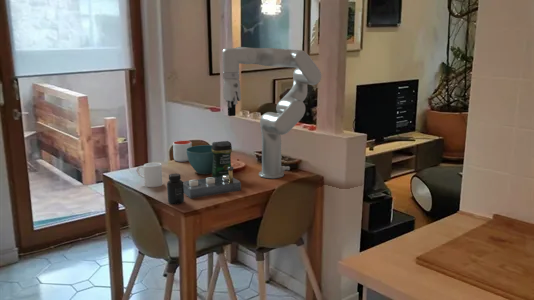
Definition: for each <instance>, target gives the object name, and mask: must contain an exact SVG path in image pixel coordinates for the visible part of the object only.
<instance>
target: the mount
mask: <svg viewBox="0 0 534 300" xmlns="http://www.w3.org/2000/svg"><path fill="white" fill-rule="evenodd" d="M206 178H207V177H206ZM206 178H201V179H200V178H199V179H198V178H197V180H198V186H192V187H190V186H189V181H190V180H184V181H183V187H184V195H186V196H187V197H188V198H189V199H197V198H202V197H208V196H209V197H210V196H215V195H222V194H228V193H235V192H240V191H242V182H241V181H240V180H238V179H236V178H235V177H233V183H229V175H223V176H219V177H213V178H215V183H212V184H207V183H206Z"/></svg>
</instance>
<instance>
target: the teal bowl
mask: <svg viewBox="0 0 534 300" xmlns="http://www.w3.org/2000/svg"><path fill="white" fill-rule="evenodd" d="M186 151H187V156H188V160H189V161H188V162H189V164H190V166H191V167H192V168H193V170H194V171H195V172H196V173H197V174H199V175H210V174H211V175H212V168H213V153H212V145H211V144H205V145H204V144H203V145H202V144H201V145H199V144H198V145H194V146H193V145H192V146H191V147H189V148H187V149H186Z"/></svg>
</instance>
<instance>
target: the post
mask: <svg viewBox="0 0 534 300" xmlns="http://www.w3.org/2000/svg"><path fill="white" fill-rule="evenodd" d="M228 170H229V183H233V178H234V176H233V175H234V172H233V170H234V166H232V165H231V166H230V167H228Z"/></svg>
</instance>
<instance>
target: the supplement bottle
mask: <svg viewBox="0 0 534 300" xmlns="http://www.w3.org/2000/svg"><path fill="white" fill-rule="evenodd" d="M181 179H182V177H181V173H176V172H175V173H169V175H168V181H167V182H166V189H167V193H166V194H167V203H168V204H170V205H180V204H183V203H184V201H185V194H184V187H183V182H184V181H183V180H181Z"/></svg>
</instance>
